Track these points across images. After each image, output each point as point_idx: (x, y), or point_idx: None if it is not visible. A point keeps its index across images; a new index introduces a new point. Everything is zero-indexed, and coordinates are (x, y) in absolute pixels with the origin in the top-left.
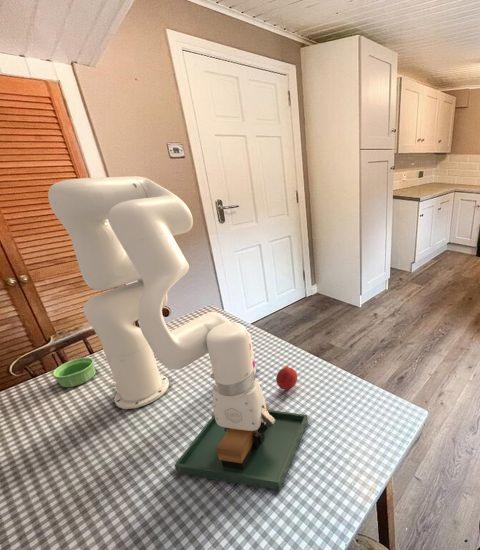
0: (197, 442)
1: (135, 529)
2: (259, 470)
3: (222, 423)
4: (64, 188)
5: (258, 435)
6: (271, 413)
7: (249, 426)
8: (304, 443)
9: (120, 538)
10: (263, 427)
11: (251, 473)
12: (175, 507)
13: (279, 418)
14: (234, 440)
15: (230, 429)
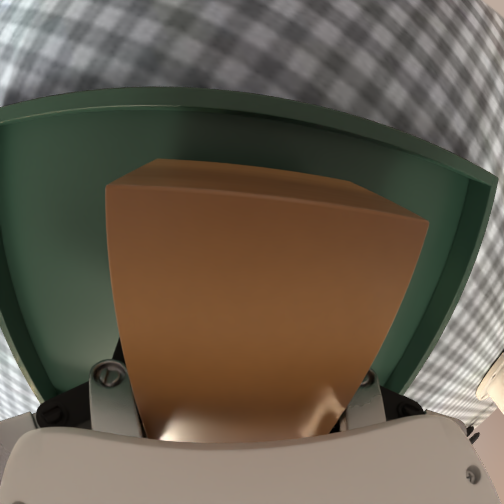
0: (446, 286)
1: (469, 10)
2: (86, 172)
3: (426, 454)
4: None
5: (108, 367)
6: None
7: (72, 493)
8: None
9: (480, 5)
10: (47, 425)
11: (120, 147)
12: (417, 29)
13: None
14: (256, 329)
15: (338, 401)
